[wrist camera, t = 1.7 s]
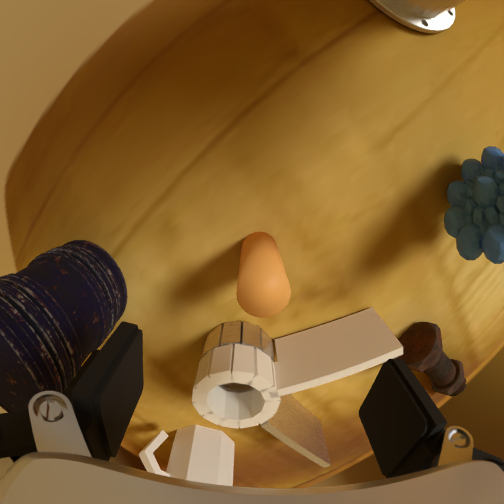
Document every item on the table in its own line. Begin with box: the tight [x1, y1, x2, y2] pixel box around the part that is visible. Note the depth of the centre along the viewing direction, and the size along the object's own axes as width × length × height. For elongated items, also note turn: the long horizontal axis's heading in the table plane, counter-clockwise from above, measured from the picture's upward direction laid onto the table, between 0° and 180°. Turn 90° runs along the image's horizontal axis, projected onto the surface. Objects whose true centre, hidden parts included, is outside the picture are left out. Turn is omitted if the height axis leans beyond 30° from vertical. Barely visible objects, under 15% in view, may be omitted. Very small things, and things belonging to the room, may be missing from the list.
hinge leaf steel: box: [198, 321, 331, 468], centre depth 25 cm, size 7×19×7 cm, turn 38°
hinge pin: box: [237, 232, 291, 318], centre depth 20 cm, size 3×3×9 cm
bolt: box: [397, 322, 466, 396], centre depth 27 cm, size 6×5×15 cm
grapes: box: [444, 147, 504, 264], centre depth 17 cm, size 12×7×12 cm, turn 146°
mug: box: [139, 425, 234, 486], centre depth 27 cm, size 12×9×10 cm
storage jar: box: [0, 240, 127, 413], centre depth 18 cm, size 10×10×15 cm
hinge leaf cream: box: [192, 307, 403, 429], centre depth 23 cm, size 17×7×7 cm, turn 108°
